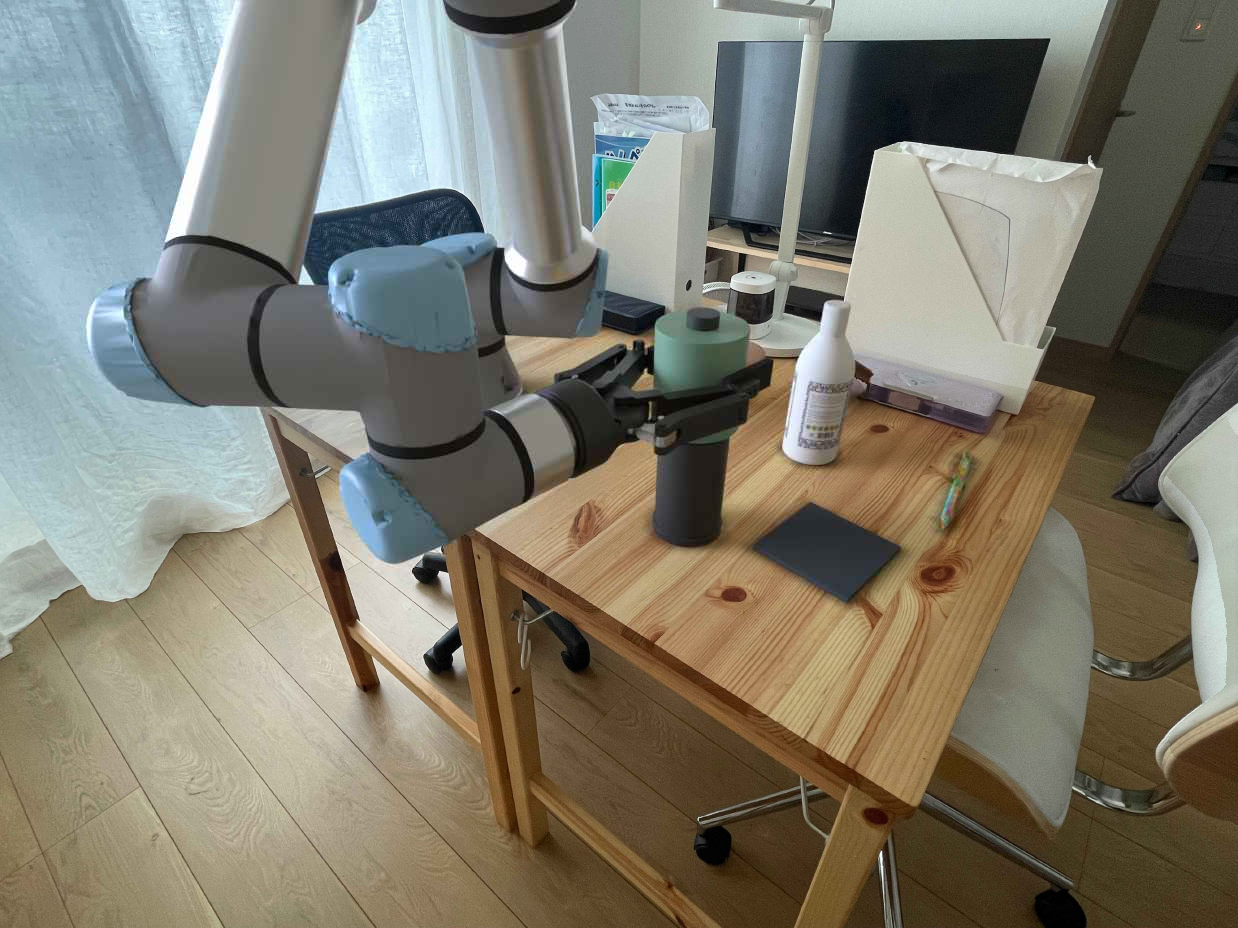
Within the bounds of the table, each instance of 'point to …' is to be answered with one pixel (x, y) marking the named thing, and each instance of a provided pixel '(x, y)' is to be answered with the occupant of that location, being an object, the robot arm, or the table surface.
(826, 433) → the bath foam
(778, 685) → the table surface
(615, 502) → the table surface
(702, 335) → the green knobbed cylinder
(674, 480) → the cylinder
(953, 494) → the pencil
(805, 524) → the mat
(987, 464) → the table surface
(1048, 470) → the table surface
